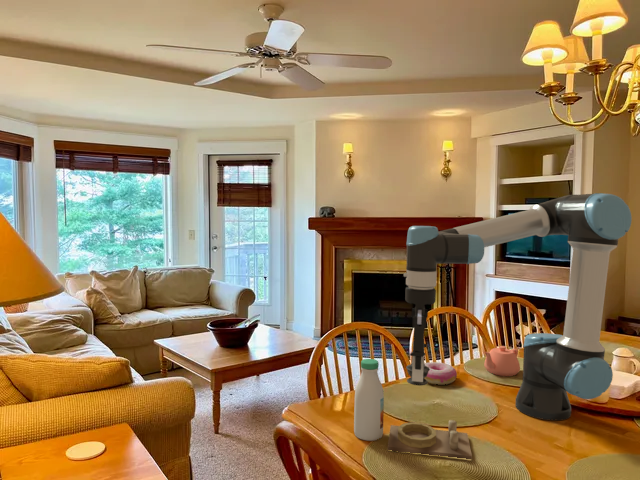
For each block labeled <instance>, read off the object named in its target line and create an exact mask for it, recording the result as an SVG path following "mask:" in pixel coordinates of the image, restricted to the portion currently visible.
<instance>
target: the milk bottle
mask: <svg viewBox="0 0 640 480" xmlns="http://www.w3.org/2000/svg"><path fill="white" fill-rule="evenodd" d="M379 365H380V364H379V360H377V359H374V358H365V359H362V360H361V361H360V370H361V374H360V376H359V379H358V381H357V383H356V385H355V391H354V410H353V411H354V412H353V416H354V417H353V418H354V419H353V432H354V435H355V437H356V438H357V439H359V440H362V441H368V442H369V441H370V442H373V441H378V440H380V439H381V438H382V437H383V436H384V413H385V411H384V410H385V406H384V405H385V401H384V399H385V398H384V388H383V385H382V383H381V379H380V377H379V373H378V371H379ZM379 438H380V439H379ZM377 439H378V440H377Z"/></svg>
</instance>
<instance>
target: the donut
mask: <svg viewBox="0 0 640 480" xmlns="http://www.w3.org/2000/svg"><path fill="white" fill-rule="evenodd" d="M424 364H425V366H427V367H429V369H430V370H429V371H428V374H427V376H426V377H425V378H424V379H426V380H427V381H428V384H430V383H431V385H436V384H438V386H445V384H446V385H449V384H452V383H453V382H455V380H456V379H457V375H458V373H457V370H456V369H455V368H454V366H452V365H451V364H449V363H444V362H437V361H435V362H433V361H431V362H430V361H429V362H426V363H425V362H424Z"/></svg>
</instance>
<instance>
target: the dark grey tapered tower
mask: <svg viewBox="0 0 640 480" xmlns="http://www.w3.org/2000/svg"><path fill="white" fill-rule="evenodd" d="M413 345H414V340H413V342H412V346H413ZM423 352H424V356H426V353H425V350H424V351H423ZM410 353H413V351H411V352H410ZM411 357H412V360H411V363H410V364H408V365H407V366H406V371H407V374H408V375H409V377H408V378H407V380H406V382H407V383H408V384H411V385H413V386H421V387H422V386H426V385H428V384H429V383H428V381H427V380H426V379H424V378H425V377H426V376H427V374H428V371H429V370H430V369H429V367H427V366H425V363H424V367H423V382H416V381H412V362H413V356H411Z"/></svg>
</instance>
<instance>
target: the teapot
mask: <svg viewBox="0 0 640 480" xmlns="http://www.w3.org/2000/svg"><path fill="white" fill-rule="evenodd" d="M484 353H485V360H484V364H483V365H484V368H485V370H486V371H487V372H488V371H489V372H488V373H491V374H492V373H493V374H492V375H496V376H499V377H513V375H514V376H516V375H517V374H519V373H520V370H521V365H520V361H519V358H518V354H519V350H518V349H517V348H511V349H508V348H507V347H506V346H505V345H500V346H498V347H494V348H491V349H490V351H489V352H488V351H484Z"/></svg>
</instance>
